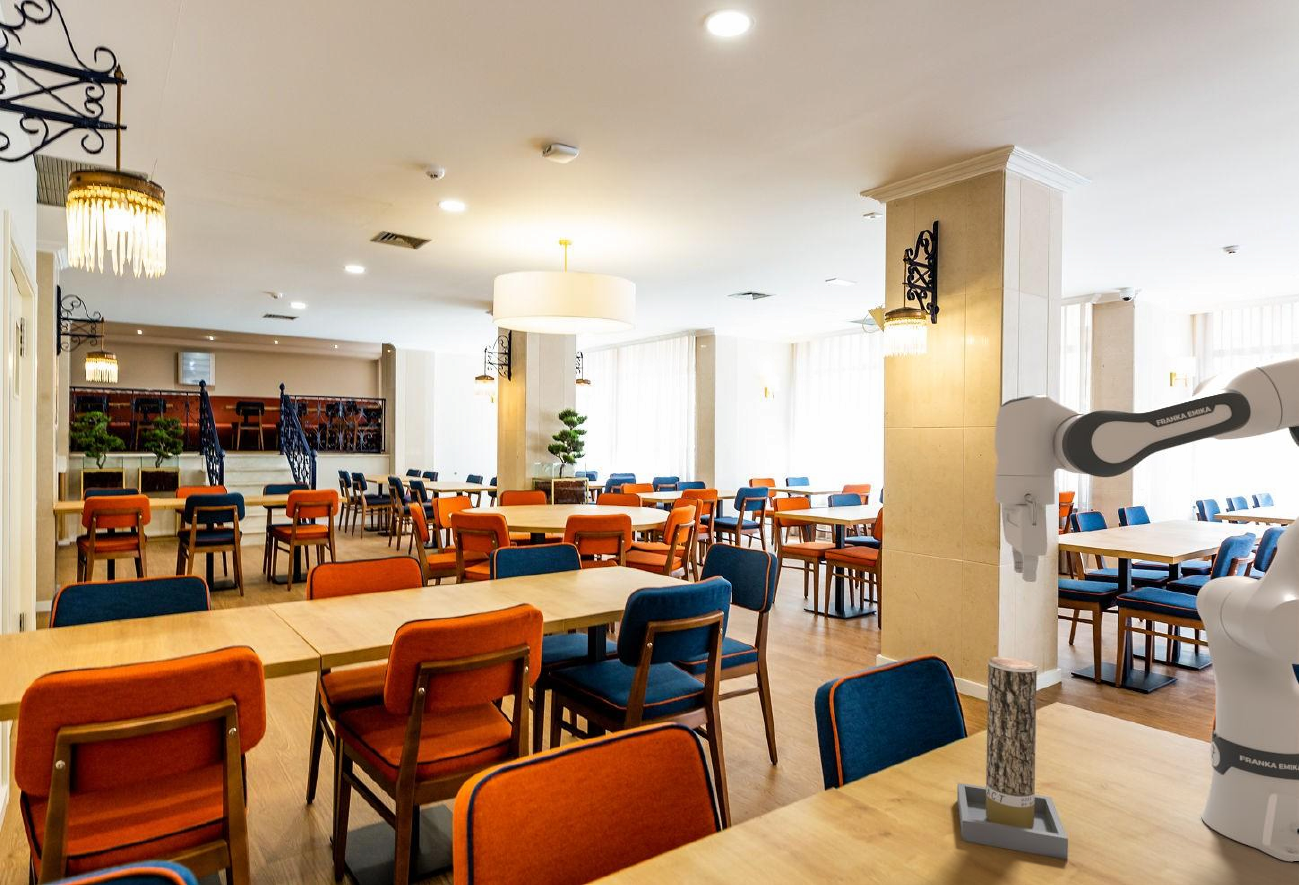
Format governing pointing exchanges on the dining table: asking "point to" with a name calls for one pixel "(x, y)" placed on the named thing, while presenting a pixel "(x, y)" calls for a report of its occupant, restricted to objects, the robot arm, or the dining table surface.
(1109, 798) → the dining table surface
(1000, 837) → the tray
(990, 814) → the paper tube
